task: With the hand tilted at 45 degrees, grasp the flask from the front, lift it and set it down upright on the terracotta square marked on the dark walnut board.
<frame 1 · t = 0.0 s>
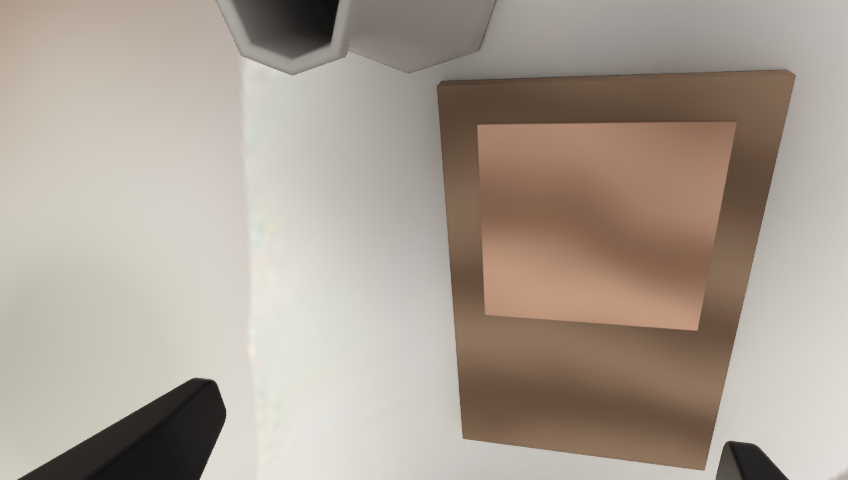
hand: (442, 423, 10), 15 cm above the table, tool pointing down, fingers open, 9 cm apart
walnut board: (587, 292, 25), on the table
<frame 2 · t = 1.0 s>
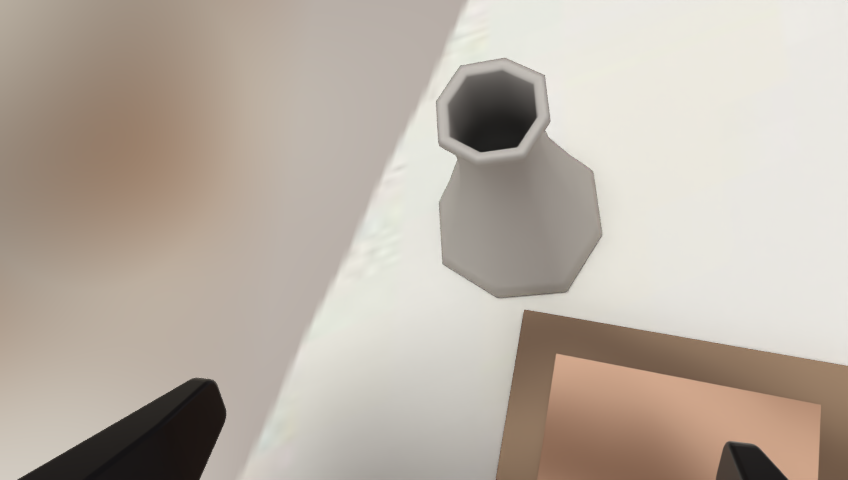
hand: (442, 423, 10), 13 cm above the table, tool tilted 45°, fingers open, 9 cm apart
flask: (517, 221, 24), on the table
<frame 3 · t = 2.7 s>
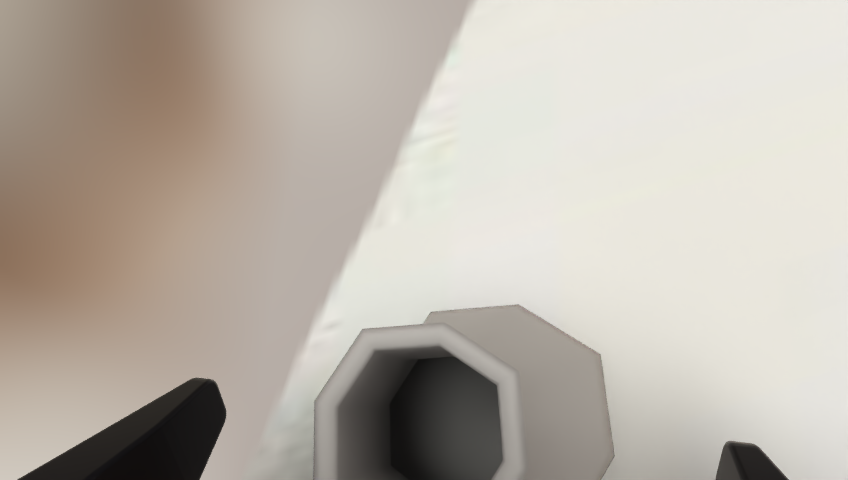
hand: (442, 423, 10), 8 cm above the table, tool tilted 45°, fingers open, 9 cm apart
flask: (492, 418, 17), on the table
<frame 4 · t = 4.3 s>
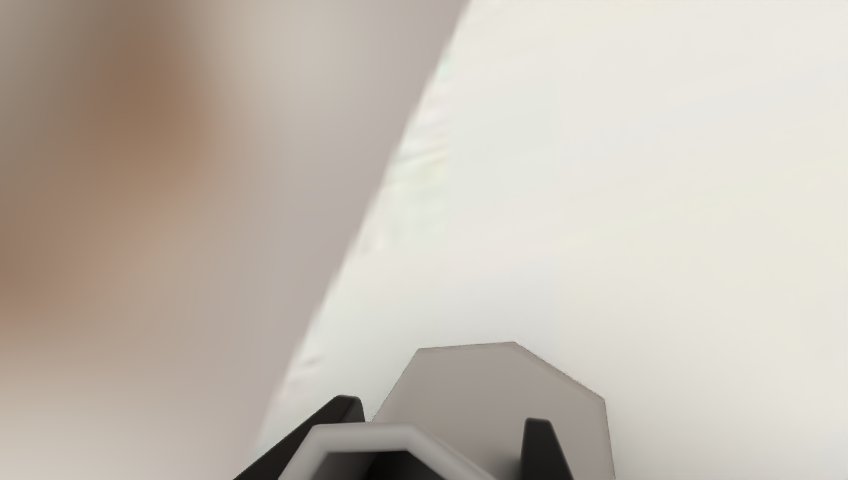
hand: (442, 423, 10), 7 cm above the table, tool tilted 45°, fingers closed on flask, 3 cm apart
flask: (486, 468, 16), on the table, touching gripper
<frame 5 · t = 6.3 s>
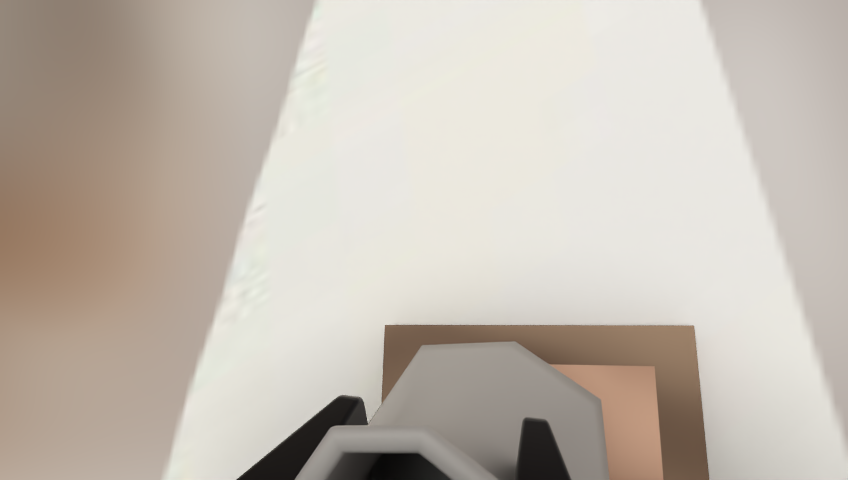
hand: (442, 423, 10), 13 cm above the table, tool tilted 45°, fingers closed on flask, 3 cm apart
flask: (484, 462, 16), point 6 cm above the table, touching gripper
when the fingers open (8 cm above the table, at t = 8.3 s): flask stays where it is, resting on walnut board.
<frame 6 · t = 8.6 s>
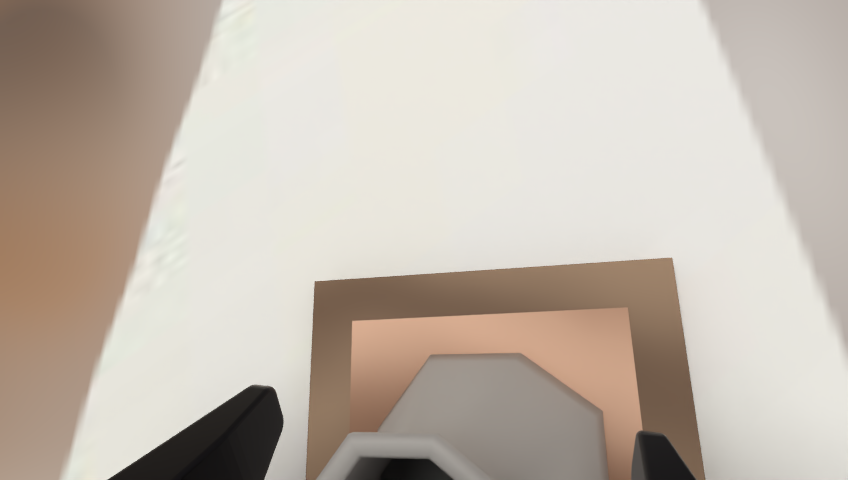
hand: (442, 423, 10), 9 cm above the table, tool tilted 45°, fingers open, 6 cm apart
flask: (489, 469, 17), point 1 cm above the table, touching walnut board
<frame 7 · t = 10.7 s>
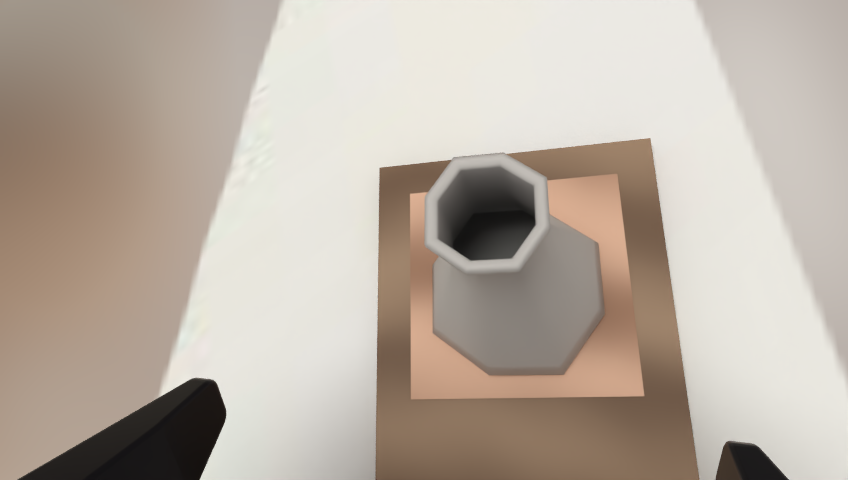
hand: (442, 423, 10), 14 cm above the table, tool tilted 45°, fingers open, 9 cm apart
flask: (515, 290, 23), point 1 cm above the table, touching walnut board
walnut board: (522, 372, 23), on the table
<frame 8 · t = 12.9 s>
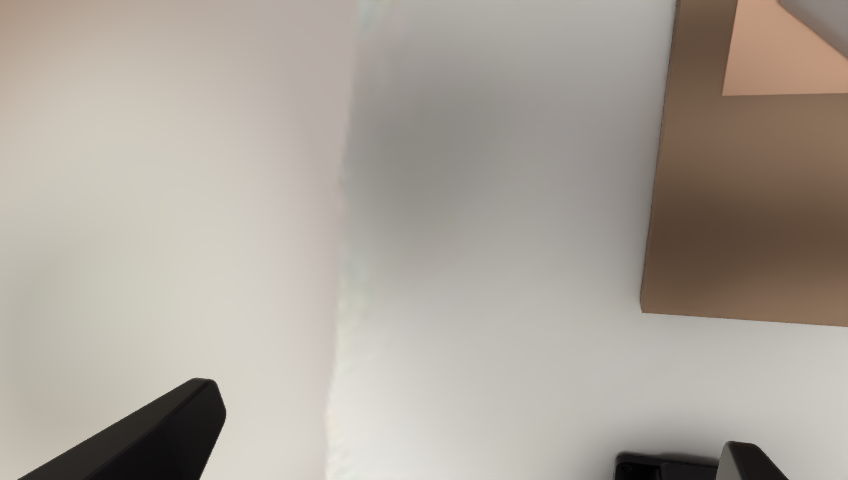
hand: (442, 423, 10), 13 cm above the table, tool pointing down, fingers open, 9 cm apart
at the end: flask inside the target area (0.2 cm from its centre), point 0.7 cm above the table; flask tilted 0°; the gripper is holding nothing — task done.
